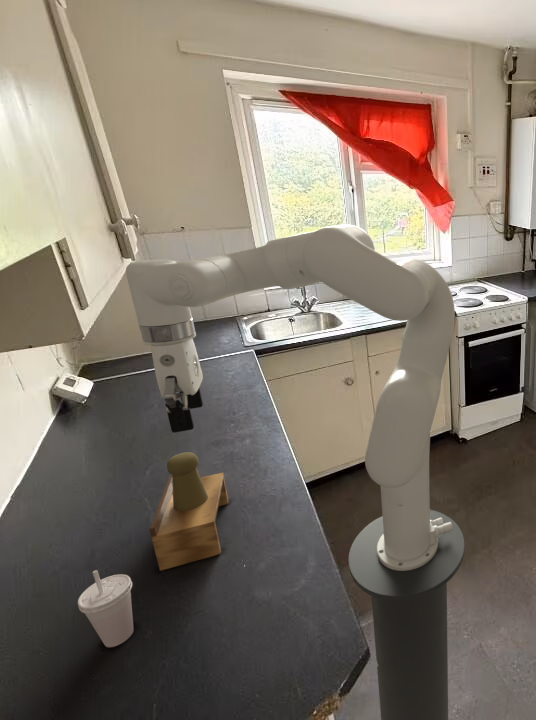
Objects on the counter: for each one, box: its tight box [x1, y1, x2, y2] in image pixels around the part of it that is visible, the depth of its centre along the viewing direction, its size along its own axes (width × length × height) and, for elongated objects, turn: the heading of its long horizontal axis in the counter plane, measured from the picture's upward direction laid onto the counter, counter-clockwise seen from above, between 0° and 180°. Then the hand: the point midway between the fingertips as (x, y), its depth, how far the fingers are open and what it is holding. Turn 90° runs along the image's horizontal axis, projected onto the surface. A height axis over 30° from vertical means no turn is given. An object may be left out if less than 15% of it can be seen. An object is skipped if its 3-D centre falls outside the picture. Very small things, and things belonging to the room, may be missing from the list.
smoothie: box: [77, 569, 135, 648], centre depth 68 cm, size 6×6×14 cm
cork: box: [166, 451, 208, 511], centre depth 88 cm, size 6×6×11 cm
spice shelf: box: [149, 472, 229, 572], centre depth 90 cm, size 10×18×10 cm, turn 26°
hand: (188, 418), depth 79 cm, fingers open, 9 cm apart
